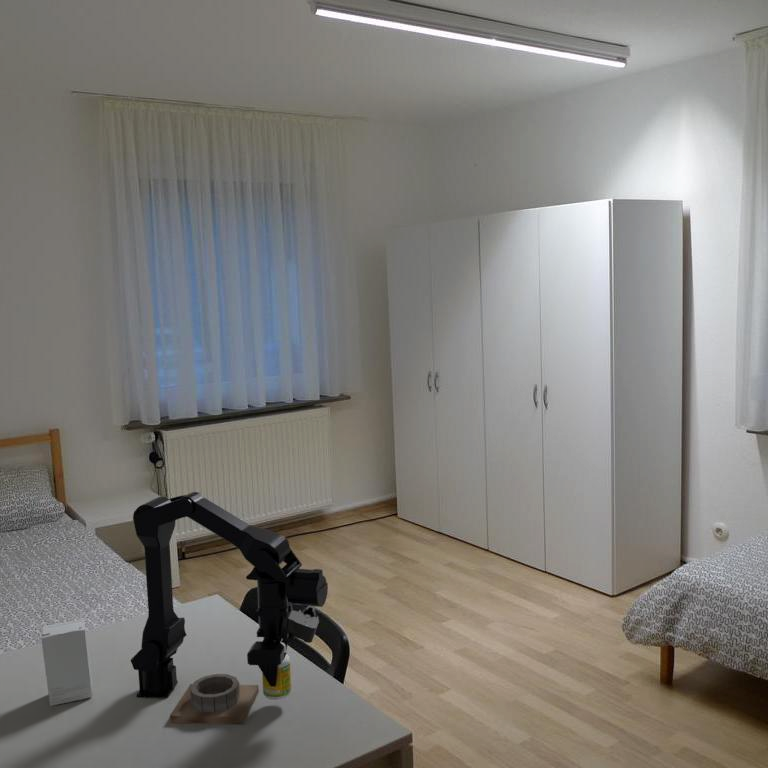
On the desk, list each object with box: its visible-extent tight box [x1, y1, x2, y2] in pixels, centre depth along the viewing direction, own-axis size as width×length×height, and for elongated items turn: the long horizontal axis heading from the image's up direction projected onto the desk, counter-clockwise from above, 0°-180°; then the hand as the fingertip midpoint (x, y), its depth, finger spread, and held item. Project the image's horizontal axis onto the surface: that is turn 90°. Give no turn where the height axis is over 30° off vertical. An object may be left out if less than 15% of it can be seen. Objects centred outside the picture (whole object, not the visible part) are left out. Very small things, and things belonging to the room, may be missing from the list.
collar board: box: [169, 673, 260, 726], centre depth 157 cm, size 14×12×4 cm
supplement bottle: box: [261, 642, 292, 701], centre depth 157 cm, size 5×5×10 cm
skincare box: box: [40, 618, 93, 707], centre depth 163 cm, size 8×6×15 cm
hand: (276, 678), depth 157 cm, fingers closed on supplement bottle, 5 cm apart
